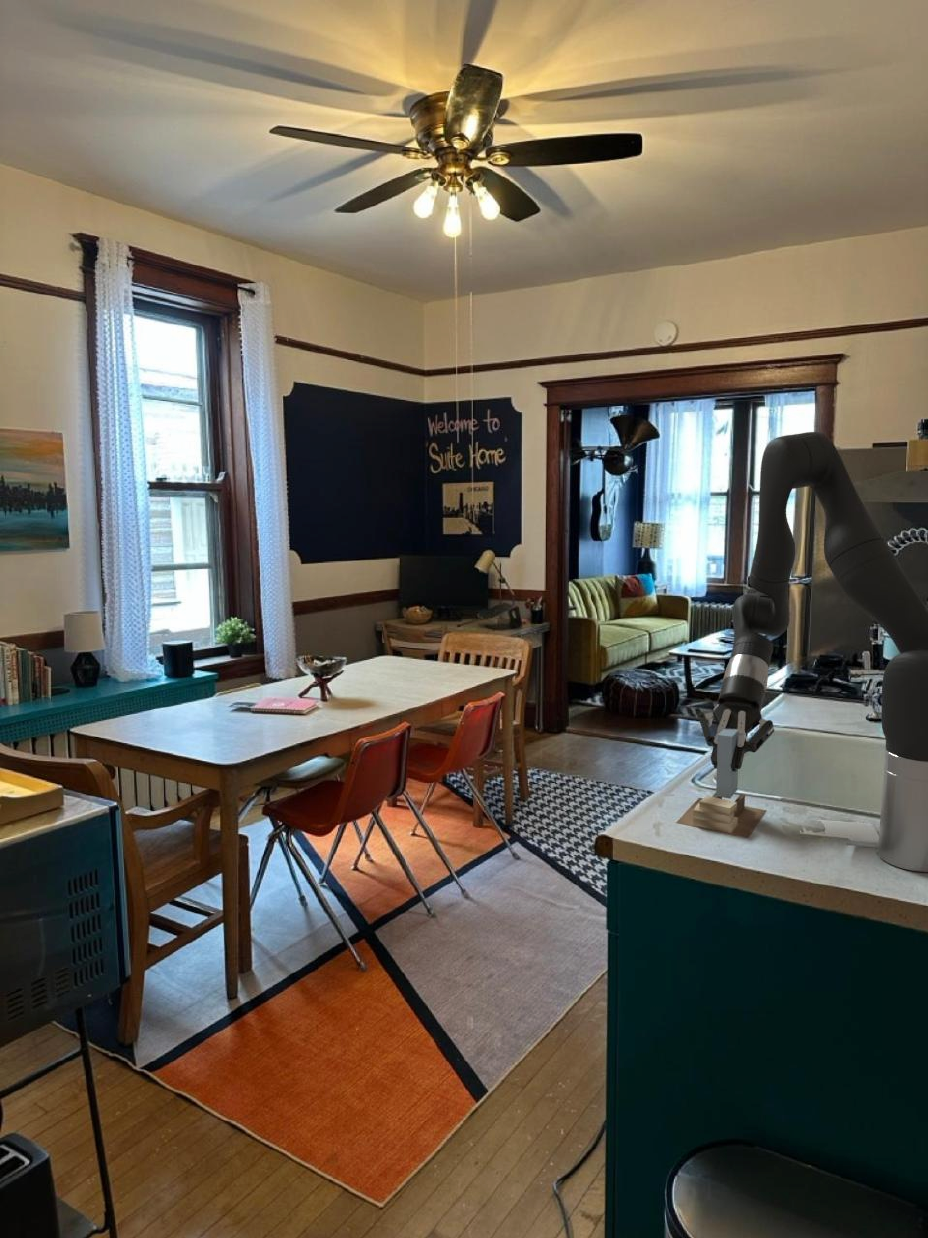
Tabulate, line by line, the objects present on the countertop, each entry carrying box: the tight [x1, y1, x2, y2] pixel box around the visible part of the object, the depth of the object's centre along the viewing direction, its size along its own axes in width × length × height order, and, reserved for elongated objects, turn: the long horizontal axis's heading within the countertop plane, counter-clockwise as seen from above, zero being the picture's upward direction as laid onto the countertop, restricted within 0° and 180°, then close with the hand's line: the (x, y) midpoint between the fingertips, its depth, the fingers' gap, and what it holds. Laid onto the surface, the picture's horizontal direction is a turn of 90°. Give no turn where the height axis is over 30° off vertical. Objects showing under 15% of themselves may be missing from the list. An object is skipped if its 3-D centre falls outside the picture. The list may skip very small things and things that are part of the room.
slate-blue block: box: [715, 728, 739, 799], centre depth 140 cm, size 2×5×11 cm, turn 148°
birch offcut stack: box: [693, 795, 738, 833], centre depth 136 cm, size 7×4×4 cm, turn 58°
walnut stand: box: [675, 792, 767, 839], centre depth 140 cm, size 12×14×4 cm
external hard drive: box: [799, 819, 879, 849], centre depth 135 cm, size 2×8×12 cm
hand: (724, 767), depth 139 cm, fingers closed on slate-blue block, 2 cm apart
